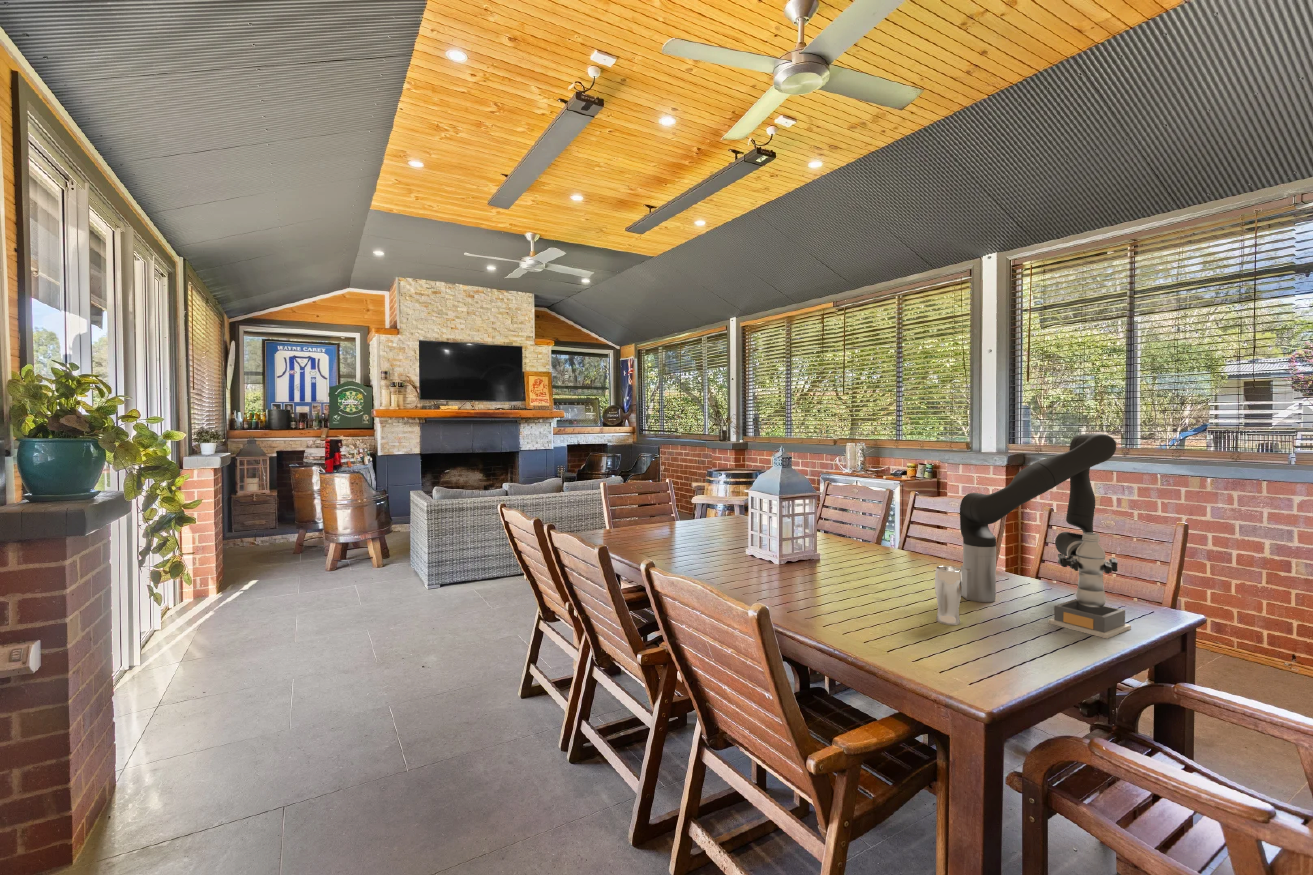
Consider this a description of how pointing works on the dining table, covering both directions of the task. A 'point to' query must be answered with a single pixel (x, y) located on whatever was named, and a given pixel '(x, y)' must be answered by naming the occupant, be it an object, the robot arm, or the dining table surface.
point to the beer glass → (948, 594)
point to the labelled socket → (1090, 619)
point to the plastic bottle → (1090, 572)
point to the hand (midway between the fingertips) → (1092, 568)
